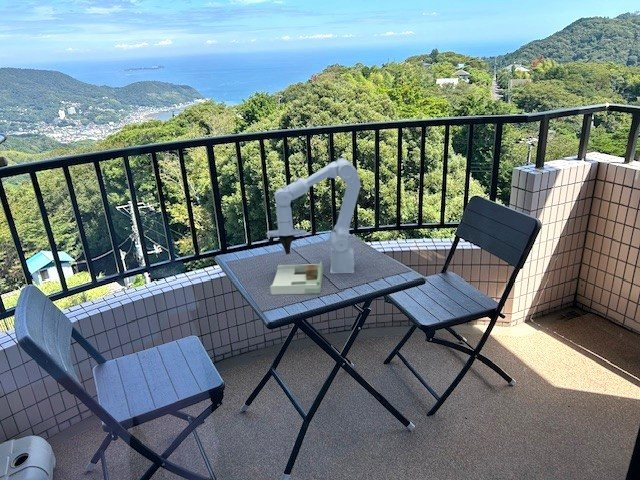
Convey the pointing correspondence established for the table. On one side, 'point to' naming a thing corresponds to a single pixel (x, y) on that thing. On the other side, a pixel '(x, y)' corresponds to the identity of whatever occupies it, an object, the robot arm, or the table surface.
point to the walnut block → (311, 272)
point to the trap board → (296, 280)
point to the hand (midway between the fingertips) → (288, 253)
